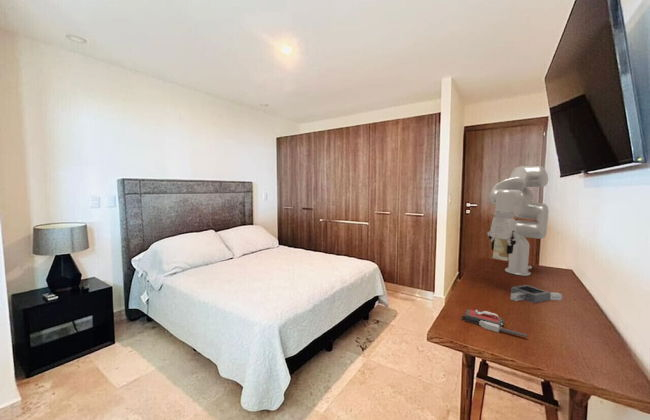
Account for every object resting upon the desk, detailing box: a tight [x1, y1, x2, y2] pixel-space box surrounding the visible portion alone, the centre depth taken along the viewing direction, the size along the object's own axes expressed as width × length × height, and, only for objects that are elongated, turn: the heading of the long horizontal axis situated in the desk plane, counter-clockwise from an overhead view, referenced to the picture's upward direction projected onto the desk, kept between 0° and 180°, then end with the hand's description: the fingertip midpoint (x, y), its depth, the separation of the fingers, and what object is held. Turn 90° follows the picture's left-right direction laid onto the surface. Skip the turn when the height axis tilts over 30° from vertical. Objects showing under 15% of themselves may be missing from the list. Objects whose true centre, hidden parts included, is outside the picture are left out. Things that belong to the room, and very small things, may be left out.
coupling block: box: [510, 284, 563, 304], centre depth 126 cm, size 23×13×4 cm, turn 111°
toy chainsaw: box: [461, 308, 528, 338], centre depth 99 cm, size 9×4×20 cm
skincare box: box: [492, 234, 509, 262], centre depth 133 cm, size 6×4×12 cm
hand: (501, 251), depth 134 cm, fingers closed on skincare box, 7 cm apart
